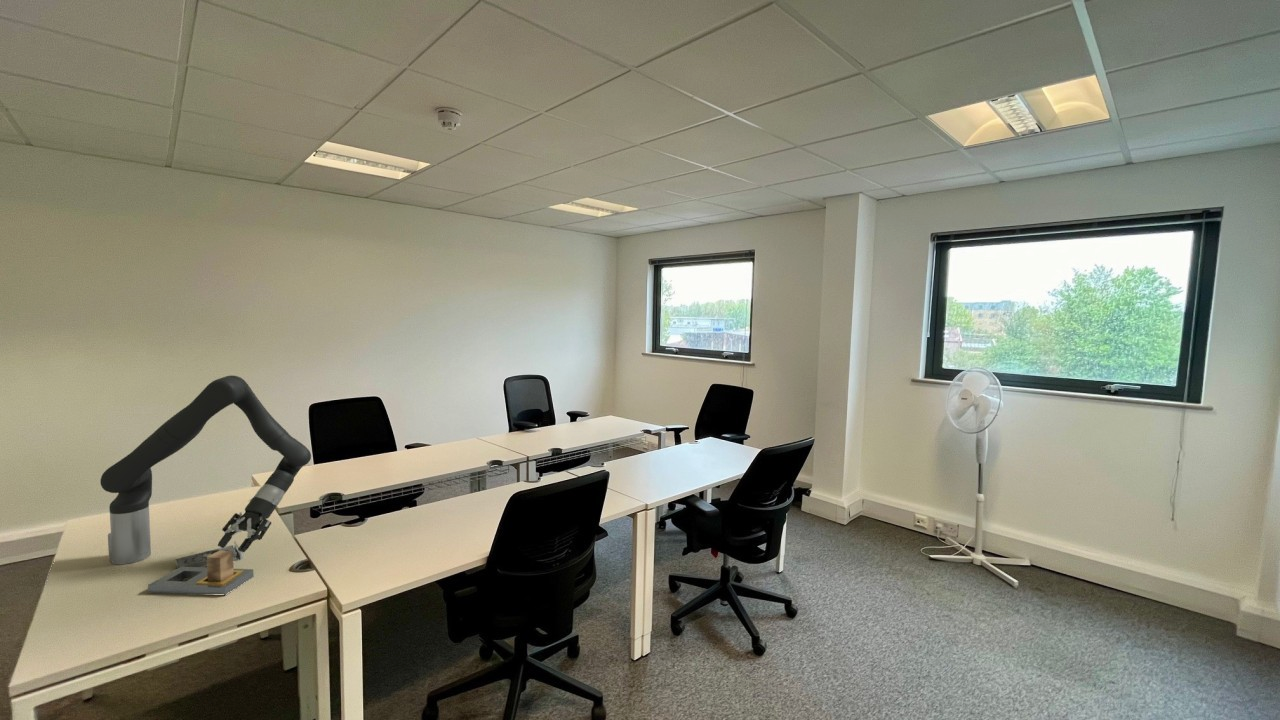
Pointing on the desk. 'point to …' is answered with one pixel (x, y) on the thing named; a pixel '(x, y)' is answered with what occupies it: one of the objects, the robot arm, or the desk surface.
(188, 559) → the graphics card
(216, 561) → the peg
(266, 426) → the robot arm
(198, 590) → the square hole plate
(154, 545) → the desk surface
